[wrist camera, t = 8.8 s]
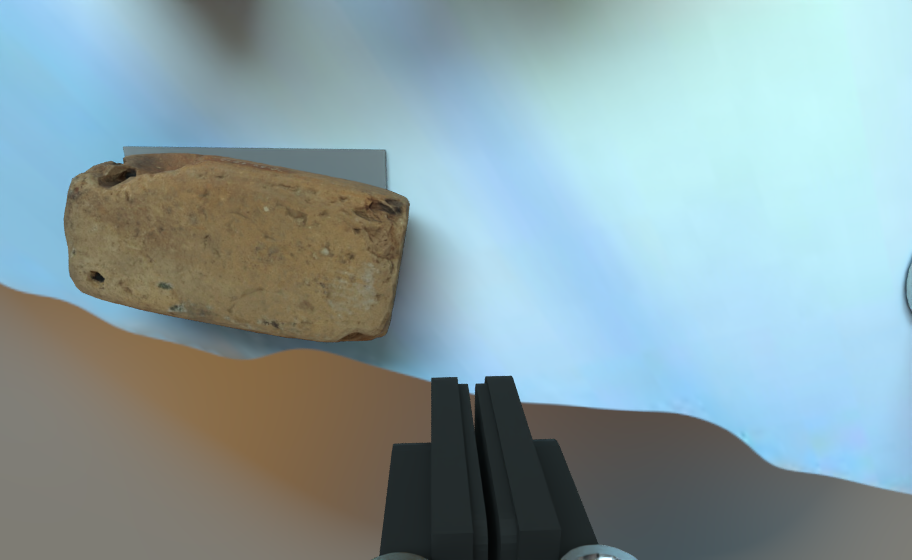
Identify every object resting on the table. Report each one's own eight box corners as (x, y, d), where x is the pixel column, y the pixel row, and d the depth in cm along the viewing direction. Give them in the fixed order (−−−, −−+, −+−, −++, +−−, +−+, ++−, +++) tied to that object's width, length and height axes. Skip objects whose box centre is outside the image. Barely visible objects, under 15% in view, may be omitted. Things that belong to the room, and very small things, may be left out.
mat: (385, 149, 35) (384, 149, 35) (389, 303, 39) (389, 305, 38) (126, 146, 34) (123, 146, 33) (156, 306, 37) (154, 308, 37)
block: (381, 365, 31) (56, 308, 29) (391, 319, 38) (130, 271, 36) (413, 203, 28) (49, 126, 26) (417, 186, 35) (132, 124, 33)
